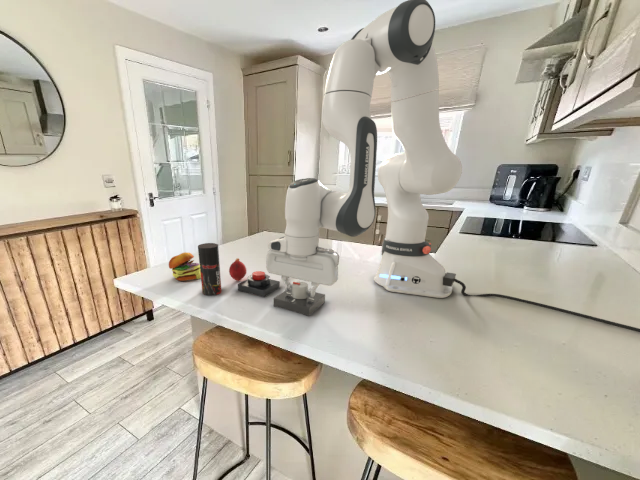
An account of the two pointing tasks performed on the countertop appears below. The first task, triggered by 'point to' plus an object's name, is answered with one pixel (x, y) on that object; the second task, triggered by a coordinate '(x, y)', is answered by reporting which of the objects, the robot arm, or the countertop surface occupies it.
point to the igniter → (259, 286)
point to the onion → (237, 270)
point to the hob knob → (299, 290)
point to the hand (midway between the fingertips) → (299, 293)
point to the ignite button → (258, 275)
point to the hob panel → (299, 303)
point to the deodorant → (209, 269)
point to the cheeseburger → (184, 267)
